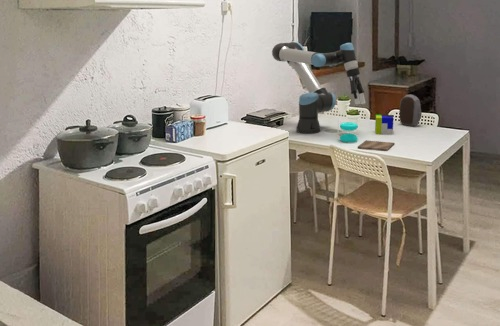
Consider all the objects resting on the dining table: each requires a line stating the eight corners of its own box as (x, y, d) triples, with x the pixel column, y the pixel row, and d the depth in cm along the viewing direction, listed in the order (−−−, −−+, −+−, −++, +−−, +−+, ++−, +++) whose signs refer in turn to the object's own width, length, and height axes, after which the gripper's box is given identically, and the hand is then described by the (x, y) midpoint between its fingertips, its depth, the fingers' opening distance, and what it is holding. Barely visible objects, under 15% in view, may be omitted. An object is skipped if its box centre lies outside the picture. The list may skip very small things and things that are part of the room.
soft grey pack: (396, 124, 345) (397, 93, 339) (404, 122, 349) (406, 92, 344) (415, 127, 333) (417, 96, 327) (423, 125, 338) (425, 94, 332)
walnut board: (357, 148, 285) (357, 146, 285) (365, 142, 298) (365, 140, 298) (387, 151, 278) (387, 149, 277) (394, 144, 291) (394, 142, 291)
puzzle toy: (392, 134, 316) (393, 118, 313) (375, 134, 318) (376, 117, 315) (391, 130, 326) (392, 114, 323) (375, 130, 328) (375, 114, 325)
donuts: (359, 122, 303) (355, 125, 294) (359, 139, 305) (355, 143, 297) (342, 121, 307) (338, 124, 298) (342, 138, 309) (337, 142, 301)
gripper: (352, 66, 299) (361, 102, 299) (363, 68, 322) (371, 102, 322) (340, 70, 303) (349, 106, 303) (351, 71, 325) (359, 105, 325)
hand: (360, 104), depth 312 cm, fingers open, 13 cm apart
